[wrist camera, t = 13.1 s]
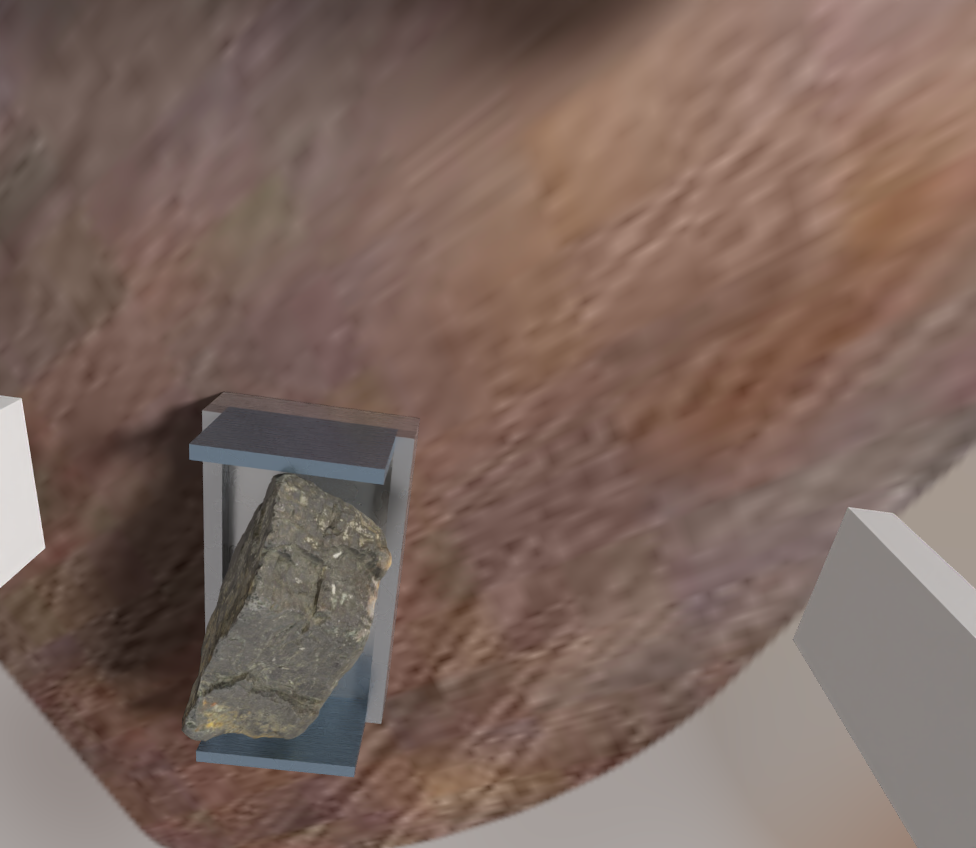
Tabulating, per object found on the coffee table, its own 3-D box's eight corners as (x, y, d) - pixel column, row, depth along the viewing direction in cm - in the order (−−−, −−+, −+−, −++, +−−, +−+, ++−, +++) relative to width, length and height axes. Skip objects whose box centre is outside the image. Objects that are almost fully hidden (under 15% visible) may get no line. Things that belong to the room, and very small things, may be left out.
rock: (370, 749, 38) (183, 774, 35) (361, 647, 43) (197, 660, 40) (413, 555, 28) (155, 565, 25) (394, 452, 33) (179, 449, 30)
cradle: (223, 391, 36) (166, 441, 30) (419, 418, 37) (406, 472, 30) (224, 670, 43) (178, 759, 37) (387, 688, 44) (371, 778, 38)
